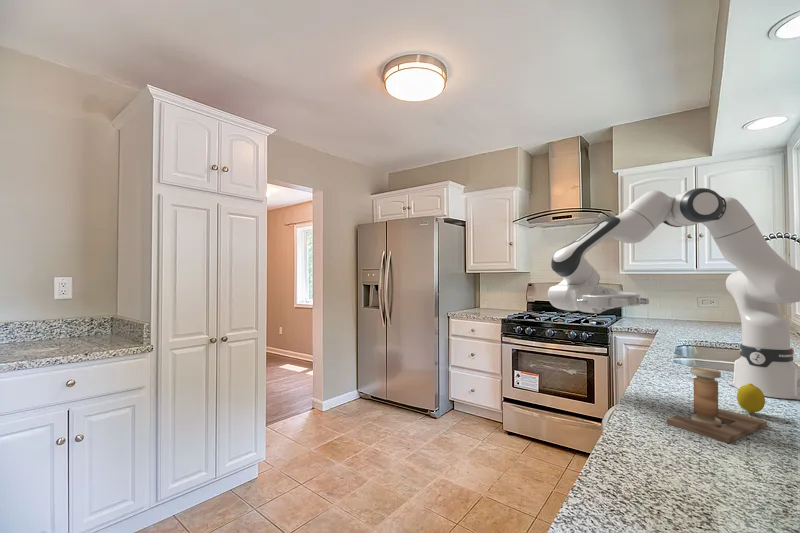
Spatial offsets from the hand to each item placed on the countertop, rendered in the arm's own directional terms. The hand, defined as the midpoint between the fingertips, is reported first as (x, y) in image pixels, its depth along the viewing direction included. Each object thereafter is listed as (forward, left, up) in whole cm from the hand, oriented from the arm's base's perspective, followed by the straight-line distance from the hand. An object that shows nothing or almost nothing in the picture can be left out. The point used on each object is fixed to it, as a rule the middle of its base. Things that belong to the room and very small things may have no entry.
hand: (638, 302), depth 111 cm
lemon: (-18, +19, -29) cm, 39 cm away
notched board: (-1, +18, -29) cm, 34 cm away
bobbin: (0, +16, -29) cm, 33 cm away
